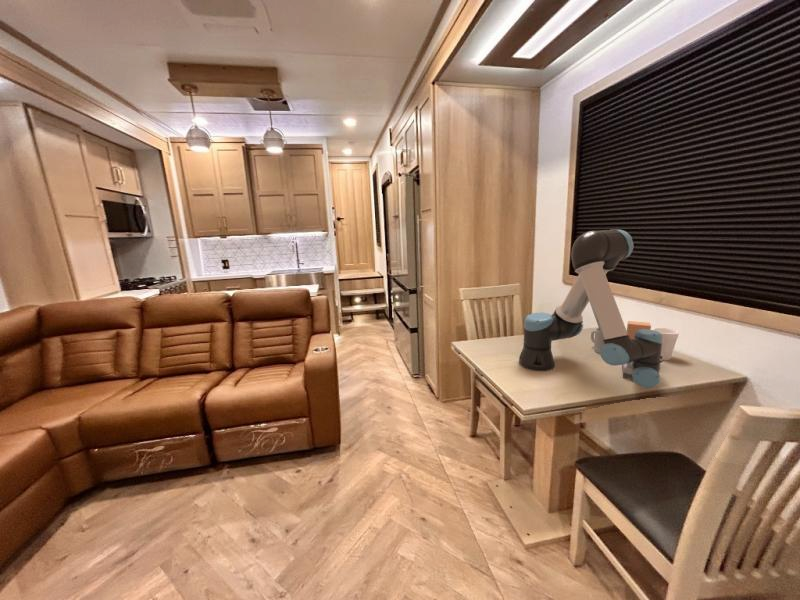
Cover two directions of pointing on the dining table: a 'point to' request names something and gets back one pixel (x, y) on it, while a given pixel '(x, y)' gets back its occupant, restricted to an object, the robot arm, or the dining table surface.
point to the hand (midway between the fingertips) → (639, 344)
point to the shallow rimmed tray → (627, 370)
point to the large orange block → (636, 327)
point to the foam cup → (667, 341)
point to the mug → (597, 340)
